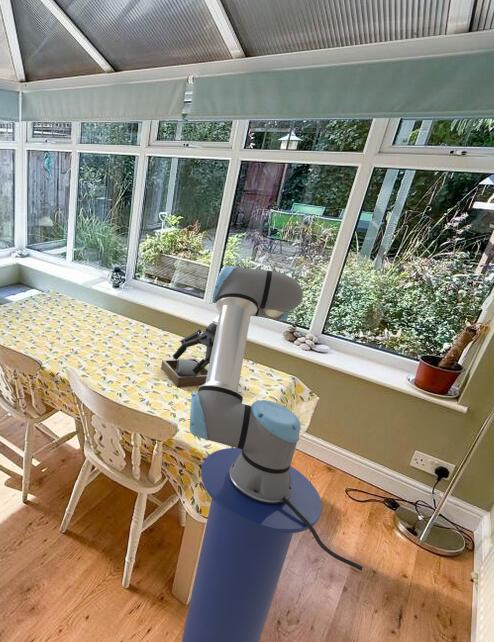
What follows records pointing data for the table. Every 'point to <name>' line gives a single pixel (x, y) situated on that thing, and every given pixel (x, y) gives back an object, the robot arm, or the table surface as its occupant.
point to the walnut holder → (184, 380)
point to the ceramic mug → (185, 367)
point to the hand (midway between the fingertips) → (183, 365)
